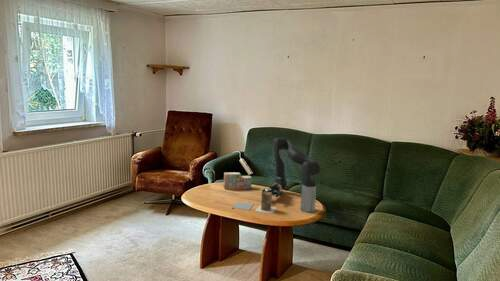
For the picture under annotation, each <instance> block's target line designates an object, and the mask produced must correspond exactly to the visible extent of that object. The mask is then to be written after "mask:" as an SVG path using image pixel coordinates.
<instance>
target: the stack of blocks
mask: <svg viewBox="0 0 500 281" xmlns="http://www.w3.org/2000/svg"><path fill="white" fill-rule="evenodd" d="M252 179H253V178H252V176H250V175H241V173H240V172H235V171H233V172H223V189H224V190H251V189H252Z"/></svg>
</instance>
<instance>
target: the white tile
mask: <svg viewBox="0 0 500 281" xmlns="http://www.w3.org/2000/svg"><path fill="white" fill-rule="evenodd" d="M277 208H278V207H275V206H271V209H270V211H266V210H261V204H260V205H259V206H258V207H256V209H255V212H259V213H260V212H261V213H268V214H274V213H275V211H276V210H277Z"/></svg>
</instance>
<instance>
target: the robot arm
mask: <svg viewBox="0 0 500 281" xmlns="http://www.w3.org/2000/svg"><path fill="white" fill-rule="evenodd" d="M272 143H273V144H272V147H273V154H274V162H275V163H274V164H275V176H276V177H279V178H275V179H274V180H273V181H272V185H271V186H270V187H269V188H268V189H266V188H263V189H262V190H261V194H262V193H263V192H272V197H273V196H275V198H278V197H282V196H283V195H284V191H283V190H282V189H286V188H287V185H288V182H287V179H286V173H285V172H286V169H285V168H286V167H285V163H284V161H283V159H282V157H281V156H280V151H282V150H286V151H287V156H288V158H289V159H290V161H292V162H293V163H295V164H297V165H299V166H300V165H301V182H302V183H301V184H302V185H301V196H300V197H301V199H300V211H302V212H305V213H314V212H315V210H316V199H317V196H316V192H317V181H316V180H315V179H312V178H311V176H317V175H319V174H320V172H321V165H320V163H318V162H317V161H316V160H314V159H312V157H309V156H308V155H307V154H305V153H304V152H303V151H302V150H300V149H299V148H298V147H297V146H295V145H294V143H292V142H291V140H290V139H288V138H287V137H286V136H285V137H275V138H274V139H273V142H272Z"/></svg>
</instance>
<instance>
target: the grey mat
mask: <svg viewBox="0 0 500 281" xmlns="http://www.w3.org/2000/svg"><path fill="white" fill-rule="evenodd" d="M254 205H255V204H254V203H250V202H249V203H247V202H241V201H240V202H239V201H237V202H236V203H235V204H234V205H233V206H231V209H233V210H234V209H238V210H246V211H250V210H251V209H252V208H253V206H254Z"/></svg>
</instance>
